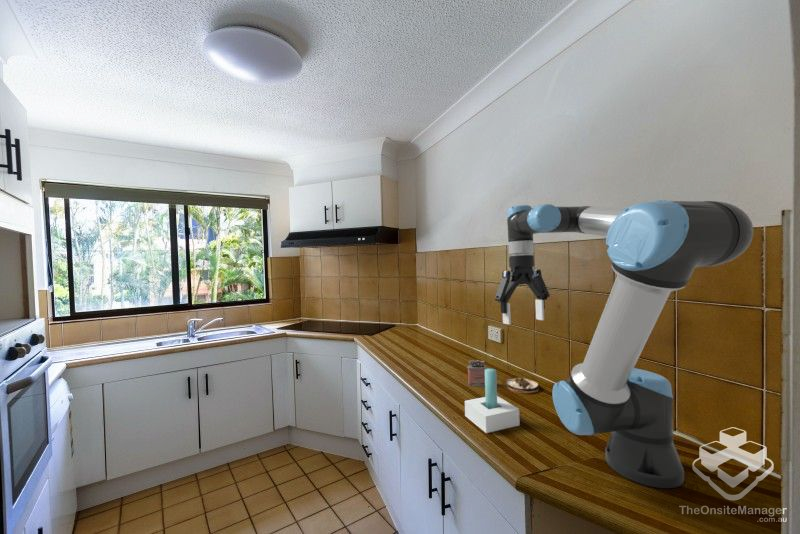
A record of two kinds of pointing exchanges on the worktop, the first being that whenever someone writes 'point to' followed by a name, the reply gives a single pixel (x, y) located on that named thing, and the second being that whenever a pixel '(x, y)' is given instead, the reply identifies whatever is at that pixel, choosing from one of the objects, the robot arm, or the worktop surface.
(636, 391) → the robot arm
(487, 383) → the peg
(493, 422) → the socket block
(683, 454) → the worktop surface
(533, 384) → the round flat dish
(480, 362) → the lighter
